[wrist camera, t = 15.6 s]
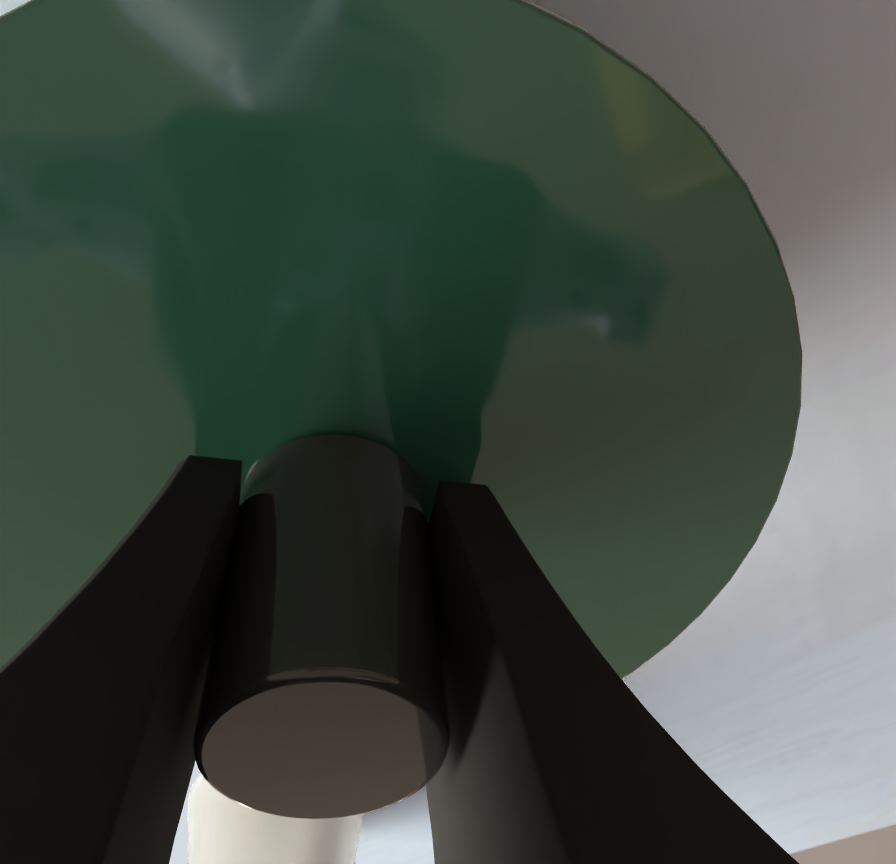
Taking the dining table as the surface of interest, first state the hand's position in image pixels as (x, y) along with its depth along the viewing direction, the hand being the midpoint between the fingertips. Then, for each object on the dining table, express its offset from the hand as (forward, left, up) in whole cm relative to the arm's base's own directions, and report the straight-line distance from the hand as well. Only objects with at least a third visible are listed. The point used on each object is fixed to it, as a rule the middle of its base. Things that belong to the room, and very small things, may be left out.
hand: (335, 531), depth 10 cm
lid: (0, 0, -1) cm, 1 cm away
